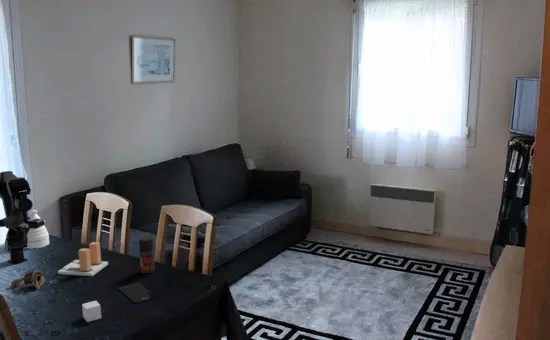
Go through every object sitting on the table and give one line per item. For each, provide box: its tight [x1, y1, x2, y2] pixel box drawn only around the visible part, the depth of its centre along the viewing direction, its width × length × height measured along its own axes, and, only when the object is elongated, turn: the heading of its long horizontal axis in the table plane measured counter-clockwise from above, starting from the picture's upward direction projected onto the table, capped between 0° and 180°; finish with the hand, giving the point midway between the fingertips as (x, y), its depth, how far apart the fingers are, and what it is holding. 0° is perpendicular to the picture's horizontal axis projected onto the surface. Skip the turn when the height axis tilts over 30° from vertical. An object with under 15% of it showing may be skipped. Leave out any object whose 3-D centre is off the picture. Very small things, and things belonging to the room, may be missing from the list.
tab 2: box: [88, 241, 102, 264], centre depth 241 cm, size 4×3×9 cm
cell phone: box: [118, 282, 152, 305], centre depth 213 cm, size 9×18×1 cm, turn 36°
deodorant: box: [138, 235, 156, 274], centre depth 234 cm, size 6×6×15 cm
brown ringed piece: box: [10, 270, 46, 291], centre depth 220 cm, size 7×13×10 cm
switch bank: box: [57, 259, 109, 277], centre depth 239 cm, size 16×14×1 cm
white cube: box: [81, 300, 102, 323], centre depth 192 cm, size 5×5×5 cm
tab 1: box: [78, 247, 91, 271], centre depth 233 cm, size 4×3×9 cm
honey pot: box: [26, 209, 50, 250], centre depth 271 cm, size 13×13×18 cm
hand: (23, 241), depth 236 cm, fingers closed
